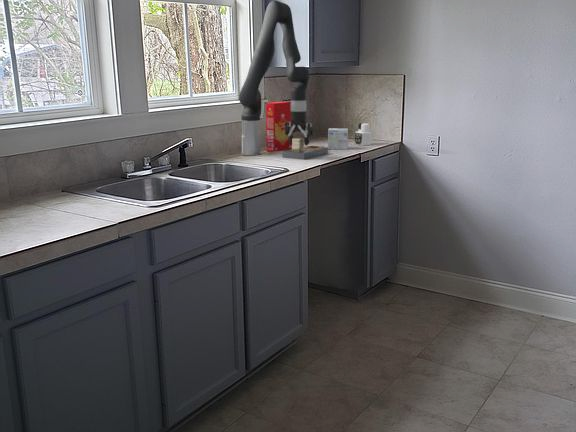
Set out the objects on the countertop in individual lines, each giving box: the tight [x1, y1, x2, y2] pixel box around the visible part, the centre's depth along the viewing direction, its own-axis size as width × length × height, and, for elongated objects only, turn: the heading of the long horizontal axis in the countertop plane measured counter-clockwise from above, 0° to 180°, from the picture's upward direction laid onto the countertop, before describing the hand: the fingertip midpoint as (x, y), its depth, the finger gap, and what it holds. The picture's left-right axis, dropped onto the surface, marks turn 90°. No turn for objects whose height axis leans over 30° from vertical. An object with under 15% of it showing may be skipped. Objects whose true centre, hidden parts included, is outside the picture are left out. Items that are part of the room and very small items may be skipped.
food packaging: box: [265, 101, 292, 153], centre depth 307 cm, size 15×5×25 cm, turn 143°
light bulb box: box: [327, 127, 349, 150], centre depth 314 cm, size 11×7×11 cm, turn 84°
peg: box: [292, 137, 305, 152], centre depth 281 cm, size 4×4×9 cm
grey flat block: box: [282, 145, 329, 161], centre depth 287 cm, size 22×12×4 cm, turn 145°
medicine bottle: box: [354, 122, 373, 146], centre depth 329 cm, size 7×7×12 cm
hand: (298, 144), depth 281 cm, fingers open, 8 cm apart
